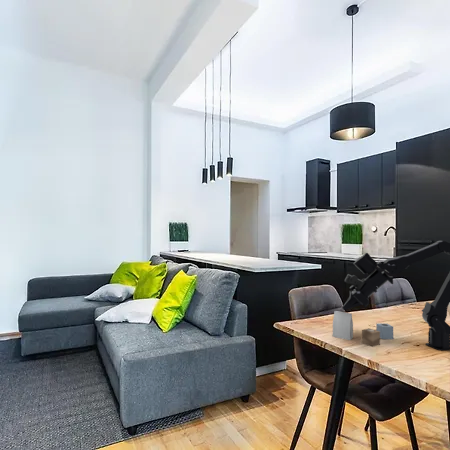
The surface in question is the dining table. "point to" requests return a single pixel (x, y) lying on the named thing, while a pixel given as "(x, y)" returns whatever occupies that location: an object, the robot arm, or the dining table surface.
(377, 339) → the walnut block
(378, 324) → the slate block
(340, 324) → the grey tapered block
